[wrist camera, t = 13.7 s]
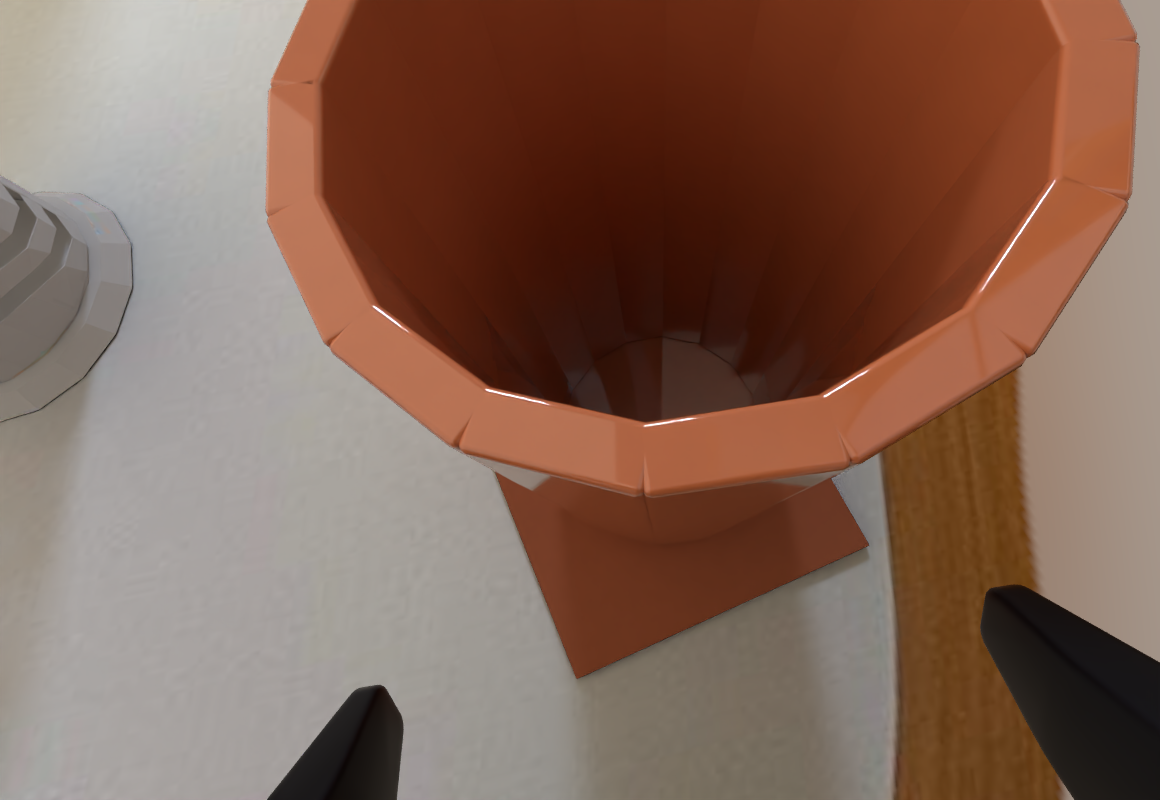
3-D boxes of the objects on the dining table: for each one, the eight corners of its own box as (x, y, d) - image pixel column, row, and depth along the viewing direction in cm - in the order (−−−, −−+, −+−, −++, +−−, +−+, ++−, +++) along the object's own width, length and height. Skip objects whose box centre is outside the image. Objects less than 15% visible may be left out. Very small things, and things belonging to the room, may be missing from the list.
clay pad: (867, 545, 17) (869, 545, 16) (577, 677, 17) (576, 679, 16) (676, 215, 20) (677, 211, 20) (438, 325, 20) (436, 323, 20)
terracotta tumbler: (748, 571, 17) (1116, 617, 3) (528, 512, 18) (134, 369, 4) (789, 356, 18) (1159, -231, 5) (583, 315, 19) (410, -237, 6)
